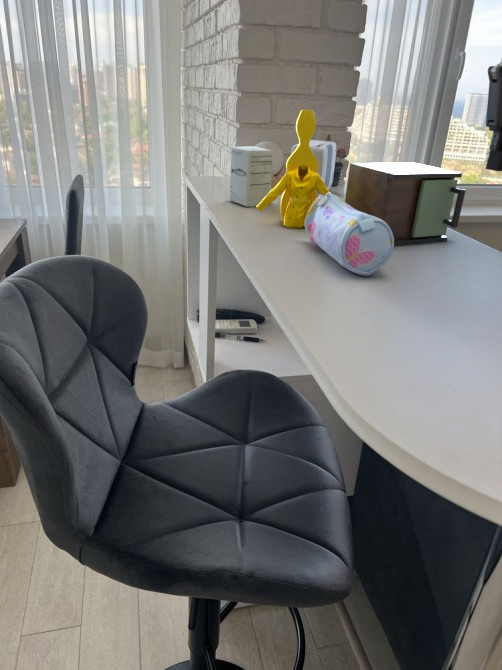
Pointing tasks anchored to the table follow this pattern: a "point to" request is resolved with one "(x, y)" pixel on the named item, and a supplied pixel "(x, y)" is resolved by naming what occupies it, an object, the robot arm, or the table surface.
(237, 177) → the white packaging box
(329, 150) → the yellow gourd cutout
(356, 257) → the pencil case
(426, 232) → the sliding door
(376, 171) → the cabinet
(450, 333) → the table surface
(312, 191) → the figure statuette
